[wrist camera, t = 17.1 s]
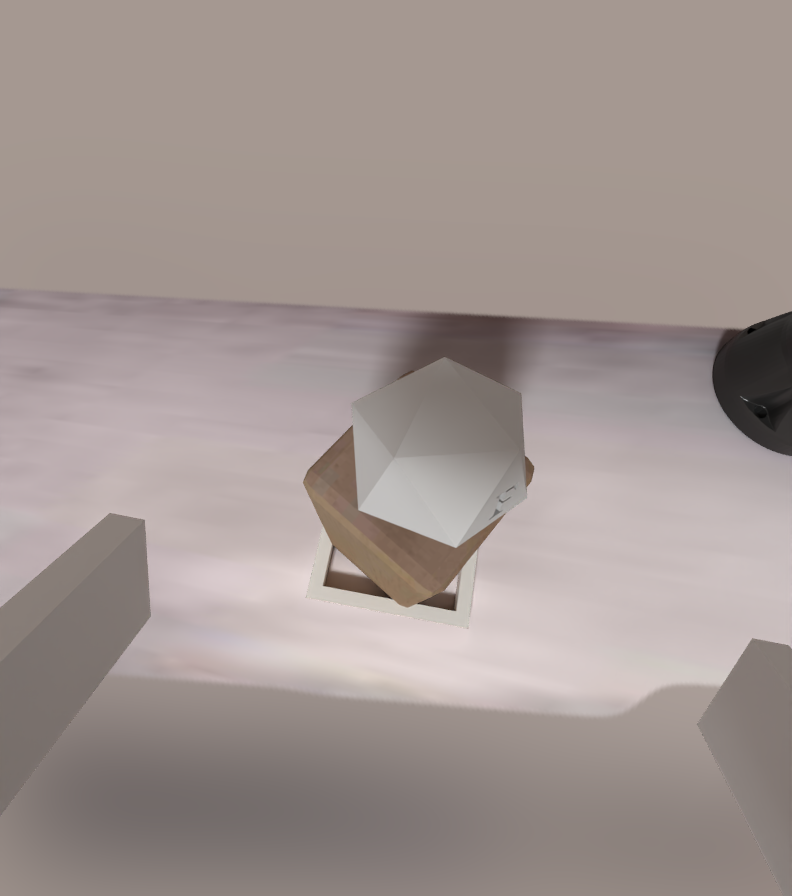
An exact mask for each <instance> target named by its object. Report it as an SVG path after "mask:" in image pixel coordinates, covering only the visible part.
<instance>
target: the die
mask: <svg viewBox="0 0 792 896" xmlns="http://www.w3.org/2000/svg"><path fill="white" fill-rule="evenodd" d="M352 419H353V435H354V451H355V466H356V482H357V498H358V510H359V511H362V512H365V513H367V514H370V515H372V516H375V517H377V518H380V519H383V520H385V521H388V522H390V523H393V524H395V525H398V526H401V527H403V528H406V529H408V530H411V531H413V532H416V533H419V534H421V535H424V536H426V537H429V538H432V539H434V540H437V541H439V542H442V543H444V544H447V545H450V546H452V547H455V548H457V547H458V546H460V545H461V544H462V543H464V542H465V541H467V540H468V539H469V538H471V537H472V536H474V535H475V534H477V533H478V532H479V531H481V530H482V529H484V528H485V527H486V526H488V525H489V524H491V523H492V522H494V521H495V520H496V519H498V518H499V517H501V516H502V515H504V514H505V513H506V512H508V511H509V510H511V509H512V508H513V507H515V506H516V505H518V504H519V503H521V502H522V501H523V500H525V499H526V498H527V488H526V470H525V452H524V434H523V415H522V397H521V393H519V392H517V391H515V390H513V389H511V388H509V387H507V386H504V385H502V384H500V383H498V382H496V381H494V380H492V379H490V378H488V377H486V376H484V375H482V374H480V373H477V372H475V371H473V370H471V369H469V368H467V367H465V366H463V365H461V364H459V363H457V362H455V361H453V360H451V359H448V358H446V357H443V358H441V359H439V360H437V361H435V362H433V363H431V364H429V365H427V366H425V367H423V368H421V369H419V370H417V371H415V372H413V373H411V374H409V375H407V376H405V377H403V378H401V379H399V380H397V381H395V382H393V383H391V384H389V385H387V386H385V387H383V388H381V389H379V390H377V391H375V392H373V393H371V394H369V395H367V396H365V397H363V398H361V399H359V400H357V401H355V402H353V403H352Z"/></svg>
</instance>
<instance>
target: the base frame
mask: <svg viewBox="0 0 792 896" xmlns="http://www.w3.org/2000/svg"><path fill="white" fill-rule="evenodd" d="M332 550H333V545H332V543H331V541H330V539H329V537H328V535H327V533H326V531H325V528H324V526H322V531H321V535H320V539H319V543H318V548H317V552H316V556H315V561H314V565H313V569H312V573H311V578H310V582H309V586H308V591H307V595H306V598H309V599H314V600H319V601H324V602H329V603H335V604H340V605H345V606H350V607H356V608H361V609H366V610H371V611H377V612H382V613H387V614H392V615H397V616H403V617H408V618H413V619H418V620H424V621H429V622H434V623H439V624H445V625H450V626H455V627H460V628H467V629H468V626H469V617H470V609H471V601H472V593H473V584H474V576H475V568H476V560H477V551H478V549H477V550H476V551H475V553H474V554H473V555H472V556H471V558H470V559H469V560H468V561H467V563H466V564H465V565H464V566H463V568H462V569H461V570H460V571H459V574H458V582H457V589H456V597H455V604H454V611H451V610H446V609H441V608H436V607H430V606H425V605H420V604H415V605H413V606H410V607H408V608H407V607H404V606H401V605H399V604H398V603H397V602H395V601H394V600H393V599H389V598H383V597H378V596H373V595H368V594H362V593H357V592H352V591H347V590H341V589H336V588H331V587H326V586H325V581H326V577H327V572H328V568H329V563H330V559H331V554H332Z"/></svg>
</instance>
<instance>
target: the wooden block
mask: <svg viewBox="0 0 792 896" xmlns="http://www.w3.org/2000/svg"><path fill="white" fill-rule="evenodd" d="M413 372H414V371H410V372H408V373H406V374H404V375H403V376H401V377H400V378H399V379H401V378H403V377H405V376H407V375H409V374H411V373H413ZM399 379H398V380H399ZM525 470H526V487H527V486H528V485H529V484H530V482H531V480H532V476H533V472H534V466H533V465H532V463H531V462H530V460H529V459H528V458H527V457H526V456H525ZM303 484H304V486H305V488H306V490H307V492H308V495H309V497H310V499H311V501H312V503H313V505H314V507H315V509H316V512H317V514H318V516H319V518H320V520H321V522H322V524H323V526H324V528H325V531H326V533H327V535H328V537H329V539H330V541H331V543H332V545H334V546H335V547H336V548H337V549H338V550H339V551H340V552H341V553H342V554H343V555H345V556H346V557H347V558H348V559H349V560H350V561H351V562H352V563H353V564H354V565H356V566H357V567H358V568H359V569H360V570H361V571H362V572H363V573H364V574H365V575H367V576H368V577H369V578H370V579H371V580H372V581H373V582H374V583H375V584H376V585H378V586H379V587H380V588H381V589H382V590H383V591H384V592H385V593H386V594H387V595H389V596H390V597H391V598H392V599H393V600H394V601H395V602H397V603H398V604H399V605H401V606H404V607H407V608H408V607H410V606H413V605H415V604H417V603H419V602H422V601H424V600H426V599H428V598H431V597H433V596H435V595H437V594H438V593H440V592H442V591H444V590H445V589H446V588H447V586H448V585H449V584H450V583H451V581H452V580H453V579H454V578H455V576H456V575H457V574H458V573H459V571H460V570H461V569H462V568H463V566H464V565H465V564H466V563H467V561H468V560H469V559H470V558H471V556H472V555H473V554H474V553H475V551H476V550H477V549H478V548H479V546H480V545H481V544H482V543H483V541H484V540H485V539H486V538H487V536H488V535H489V534H490V533H491V531H492V530H493V529H494V528H495V526H496V525H497V524H498V523H499V521H500V520H501V519H502V518H503V516H504V515H505V514H506V513H507V512H506V513H505V514H504V515H502V516H501V517H499V518H498V519H496V520H495V521H494V522H492V523H491V524H489V525H488V526H486V527H485V528H484V529H482V530H481V531H479V532H478V533H477V534H475V535H474V536H472V537H471V538H469V539H468V540H467V541H465V542H464V543H462V544H461V545H460V546H458V547H457V548H455V547H452V546H450V545H447V544H444V543H442V542H439V541H437V540H434V539H432V538H429V537H426V536H424V535H421V534H419V533H416V532H413V531H411V530H408V529H406V528H403V527H401V526H398V525H395V524H393V523H390V522H388V521H385V520H383V519H380V518H377V517H375V516H372V515H370V514H367V513H365V512H362V511H359V510H358V498H357V482H356V466H355V451H354V435H353V425H352V426H351V427H350V428H349V429H348V430H347V431H346V432H345V433H344V434H343V435H342V436H341V437H340V438H339V439H338V440H337V441H336V442H335V443H334V444H333V445H332V446H331V447H330V448H329V449H328V451H327V452H326V453H325V454H324V455H323V456H322V457H321V458H320V459H319V460H318V461H317V462H316V463H315V464H314V465H313V466H312V467H311V468H310V469H309V470H308V472H307V474H306V476H305V479H304V481H303Z"/></svg>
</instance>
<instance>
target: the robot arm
mask: <svg viewBox="0 0 792 896" xmlns="http://www.w3.org/2000/svg"><path fill="white" fill-rule="evenodd" d="M713 381H714V387H715V391H716V395H717V397H718V400H719V402H720V404H721V406H722V408H723V410H724V411H725V413H726V414H727V416H728V417H729V418H730V420H731V421H732V422H733V423H734V424H735V426H736V427H737V428H738V429H739V430H741V431H742V432H743V433H744V434H745V435H746V436H748V437H749V438H750V439H752V440H753V441H755V442H756V443H758V444H760V445H761V446H763V447H765V448H767V449H770V450H772V451H775V452H778V453H781V454H785V455H789V456H792V312H788V313H785V314H782V315H779V316H776V317H774V318H771V319H768V320H766V321H762V322H759V323H757V324H754V325H752V326H750V327H748V328H746V329H744V330H743V331H742V332H740V333H739V334H738V335H736V336H735V337H734V338H733V339H731V340H730V341H729V342H728V343H726V344H725V345H724V347H723V348H722V349H721V351H720V352H719V354H718V356H717V358H716V361H715V364H714V370H713ZM150 616H151V613H150V597H149V580H148V564H147V548H146V532H145V520H142V519H137V518H132V517H127V516H122V515H117V514H112V513H110V514H108V515H107V516H106V517H105V518H104V519H103V520H101V521H100V522H99V523H98V524H97V525H96V526H95V527H93V528H92V529H91V530H90V531H89V532H88V533H86V534H85V535H84V536H83V537H82V538H81V539H79V540H78V541H77V542H76V543H75V544H74V545H72V546H71V547H70V548H69V549H68V550H67V551H66V552H64V553H63V554H62V555H61V556H60V557H59V558H57V559H56V560H55V561H54V562H53V563H52V564H50V565H49V566H48V567H47V568H46V569H45V570H44V571H42V572H41V573H40V574H39V575H38V576H37V577H35V578H34V579H33V580H32V581H31V582H30V583H28V584H27V585H26V586H25V587H24V588H23V589H22V590H20V591H19V592H18V593H17V594H16V595H15V596H13V597H12V598H11V599H10V600H9V601H8V602H6V603H5V604H4V605H3V606H2V607H1V608H0V816H1V815H2V813H3V812H4V810H5V809H6V808H7V806H8V805H9V804H10V802H11V801H12V800H13V799H14V797H15V796H16V795H17V793H18V792H19V791H20V789H21V788H22V787H23V785H24V784H25V783H26V781H27V780H28V779H29V777H30V776H31V775H32V773H33V772H34V771H35V769H36V768H37V767H38V765H39V764H40V763H41V761H42V760H43V758H44V757H45V756H46V755H47V753H48V752H49V751H50V749H51V748H52V747H53V745H54V744H55V743H56V741H57V740H58V738H59V737H60V736H61V735H62V733H63V732H64V731H65V729H66V728H67V726H68V725H69V724H70V723H71V721H72V720H73V719H74V717H75V716H76V715H77V713H78V712H79V711H80V709H81V708H82V707H83V705H84V704H85V703H86V701H87V700H88V699H89V697H90V696H91V695H92V693H93V692H94V691H95V689H96V688H97V687H98V685H99V684H100V683H101V681H102V680H103V679H104V677H105V676H106V675H107V673H108V672H109V671H110V669H111V668H112V667H113V666H114V664H115V663H116V662H117V660H118V659H119V658H120V656H121V655H122V654H123V652H124V651H125V650H126V648H127V647H128V646H129V644H130V643H131V642H132V640H133V639H134V638H135V636H136V635H137V634H138V632H139V631H140V630H141V628H142V627H143V626H144V624H145V623H146V622H147V620H148V619H149V618H150ZM697 725H698V727H699V729H700V731H701V733H702V735H703V737H704V739H705V741H706V743H707V745H708V747H709V749H710V751H711V753H712V755H713V757H714V759H715V761H716V763H717V765H718V767H719V769H720V771H721V773H722V775H723V777H724V779H725V781H726V783H727V785H728V787H729V789H730V791H731V793H732V795H733V797H734V799H735V801H736V803H737V805H738V807H739V809H740V811H741V813H742V815H743V817H744V819H745V821H746V823H747V825H748V827H749V829H750V831H751V833H752V835H753V837H754V839H755V841H756V843H757V845H758V847H759V849H760V851H761V853H762V855H763V857H764V859H765V861H766V862H767V865H768V866H769V868H770V871H771V873H772V875H773V877H774V879H775V881H776V883H777V884H778V886H779V889H780V891H781V893H782V895H783V896H792V649H791V648H790V647H789V645H784V644H778V643H773V642H768V641H763V640H758V639H753V638H752V640H751V641H750V643H749V645H748V646H747V648H746V649H745V651H744V652H743V654H742V655H741V657H740V658H739V660H738V662H737V663H736V665H735V666H734V668H733V669H732V671H731V672H730V674H729V675H728V677H727V679H726V680H725V682H724V683H723V685H722V686H721V688H720V689H719V691H718V692H717V694H716V696H715V697H714V699H713V700H712V702H711V704H710V705H709V706H708V708H707V710H706V711H705V713H704V714H703V716H702V717H701V719H700V720H699V722H698V723H697Z"/></svg>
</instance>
